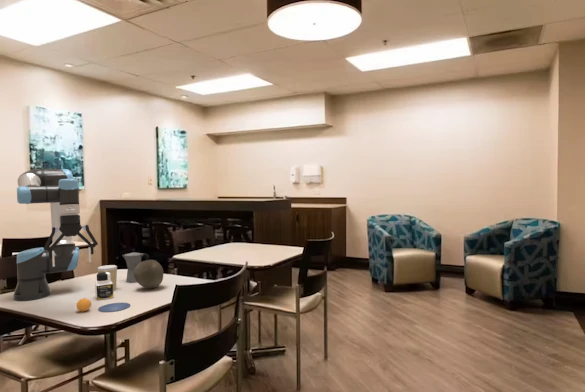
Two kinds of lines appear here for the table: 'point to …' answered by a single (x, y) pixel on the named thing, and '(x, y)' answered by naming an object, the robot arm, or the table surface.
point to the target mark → (114, 307)
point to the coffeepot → (133, 264)
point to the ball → (83, 304)
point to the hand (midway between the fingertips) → (72, 264)
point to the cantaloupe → (149, 274)
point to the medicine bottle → (103, 286)
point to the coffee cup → (113, 272)
